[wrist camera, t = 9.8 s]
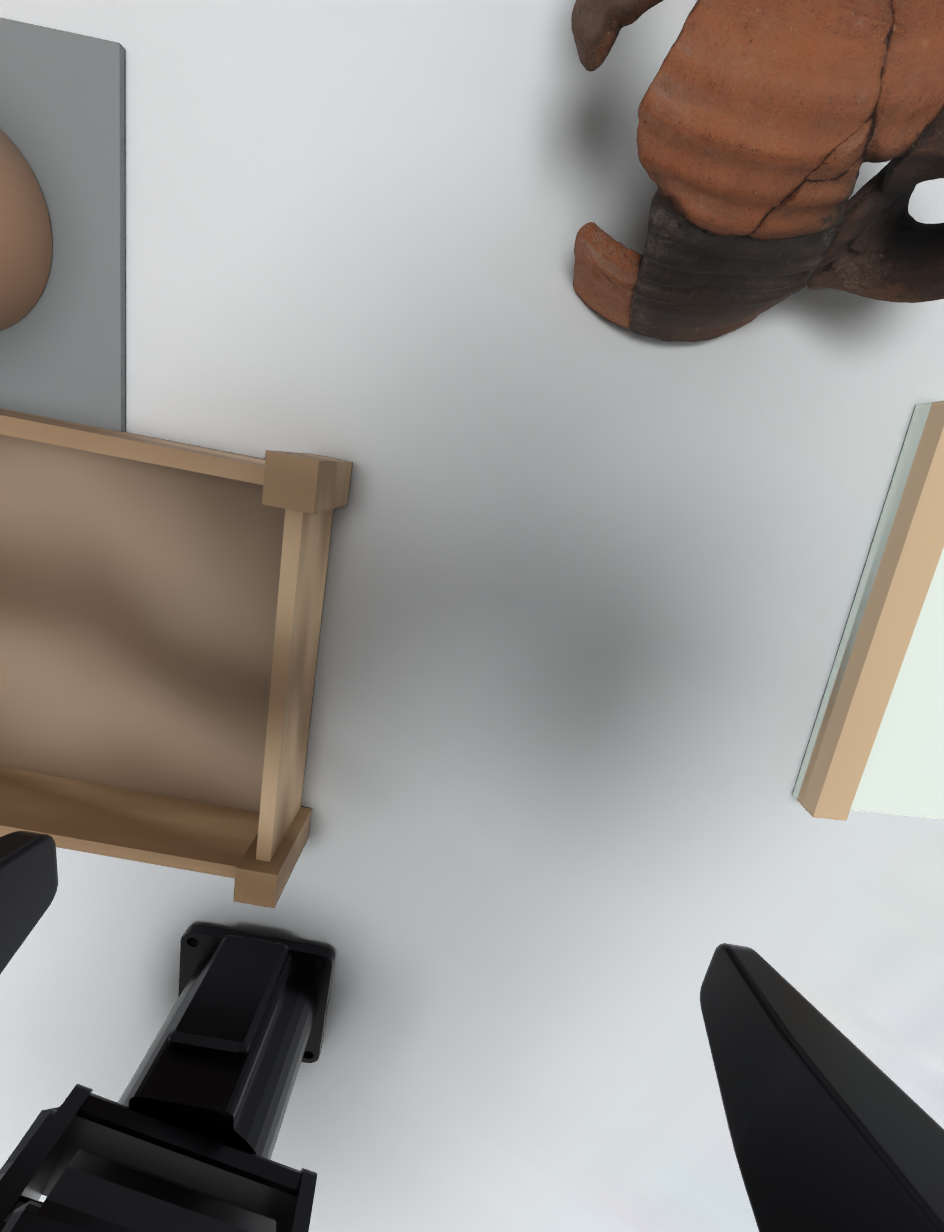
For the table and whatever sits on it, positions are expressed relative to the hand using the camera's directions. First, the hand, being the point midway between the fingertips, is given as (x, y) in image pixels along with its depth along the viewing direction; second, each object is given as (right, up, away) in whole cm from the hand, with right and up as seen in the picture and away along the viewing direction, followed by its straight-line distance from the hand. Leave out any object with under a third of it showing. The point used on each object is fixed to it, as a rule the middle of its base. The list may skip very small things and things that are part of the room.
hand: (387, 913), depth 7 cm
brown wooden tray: (-11, +3, +12) cm, 17 cm away
